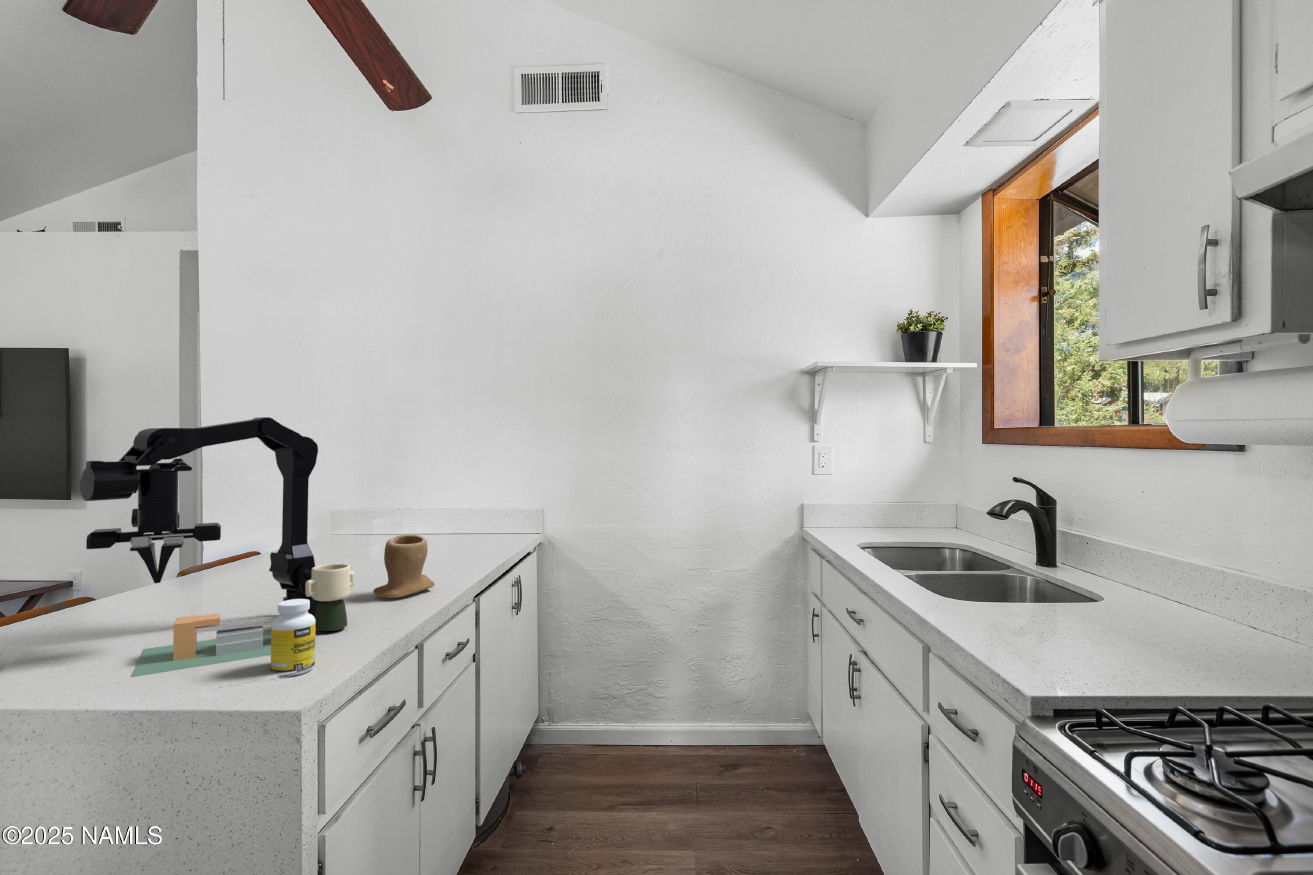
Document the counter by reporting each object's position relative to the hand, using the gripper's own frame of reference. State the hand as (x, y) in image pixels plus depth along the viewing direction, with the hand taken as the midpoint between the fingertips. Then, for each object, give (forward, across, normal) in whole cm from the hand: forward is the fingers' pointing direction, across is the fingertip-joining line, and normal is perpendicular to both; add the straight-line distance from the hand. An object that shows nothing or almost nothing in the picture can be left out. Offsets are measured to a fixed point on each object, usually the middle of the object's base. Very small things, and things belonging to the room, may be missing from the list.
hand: (157, 582), depth 113 cm
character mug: (+13, -28, +1) cm, 31 cm away
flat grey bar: (+8, -13, +7) cm, 17 cm away
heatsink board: (+13, -10, +7) cm, 18 cm away
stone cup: (+13, -48, -22) cm, 54 cm away
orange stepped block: (+12, -6, +7) cm, 15 cm away
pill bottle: (+13, -20, +23) cm, 33 cm away
